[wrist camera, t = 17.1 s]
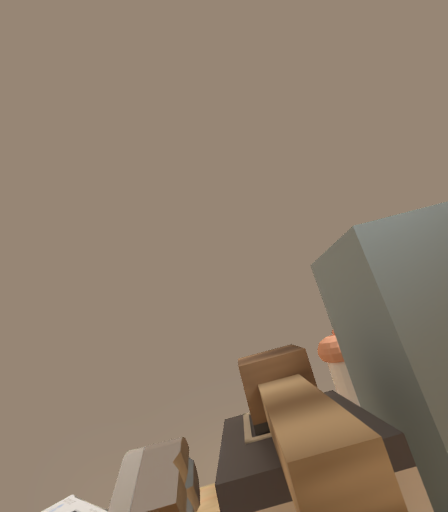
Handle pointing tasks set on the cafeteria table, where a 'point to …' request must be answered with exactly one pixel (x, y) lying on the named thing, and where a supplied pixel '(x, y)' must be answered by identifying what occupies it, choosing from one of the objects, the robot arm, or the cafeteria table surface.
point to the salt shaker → (337, 367)
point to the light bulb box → (74, 506)
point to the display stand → (396, 328)
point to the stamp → (317, 438)
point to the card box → (271, 474)
